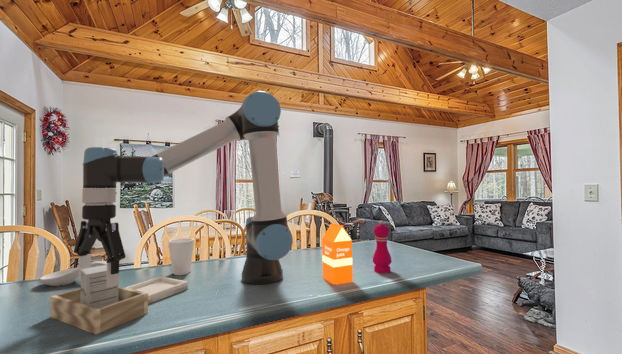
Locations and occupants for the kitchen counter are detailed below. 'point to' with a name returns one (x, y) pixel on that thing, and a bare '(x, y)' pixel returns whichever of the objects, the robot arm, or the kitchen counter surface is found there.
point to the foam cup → (181, 255)
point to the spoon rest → (65, 275)
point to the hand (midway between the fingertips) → (97, 282)
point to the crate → (98, 310)
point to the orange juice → (337, 255)
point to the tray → (160, 287)
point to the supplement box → (97, 288)
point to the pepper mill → (381, 249)
